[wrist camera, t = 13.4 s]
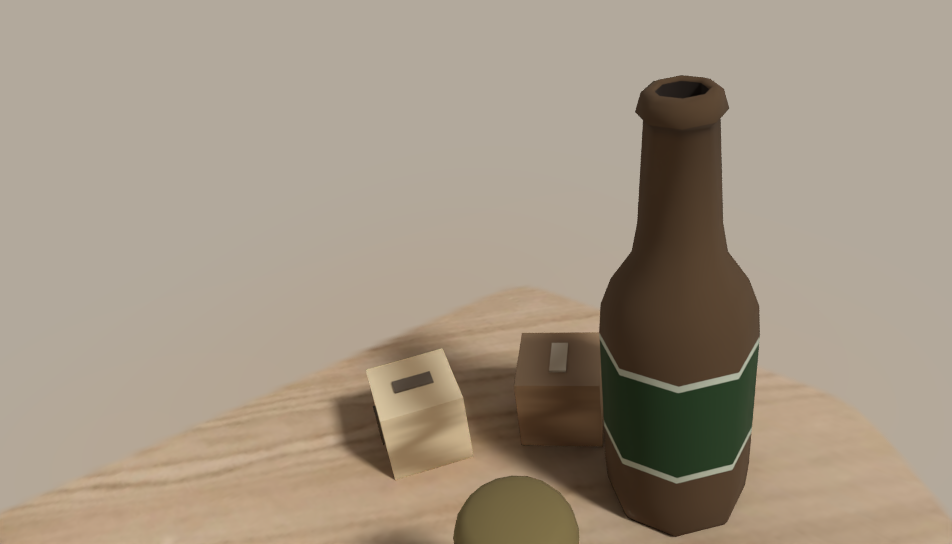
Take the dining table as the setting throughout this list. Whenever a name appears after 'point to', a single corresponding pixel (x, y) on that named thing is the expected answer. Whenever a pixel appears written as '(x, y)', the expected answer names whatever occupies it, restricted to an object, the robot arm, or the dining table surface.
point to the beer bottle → (679, 327)
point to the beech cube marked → (420, 413)
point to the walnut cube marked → (559, 389)
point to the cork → (516, 514)
